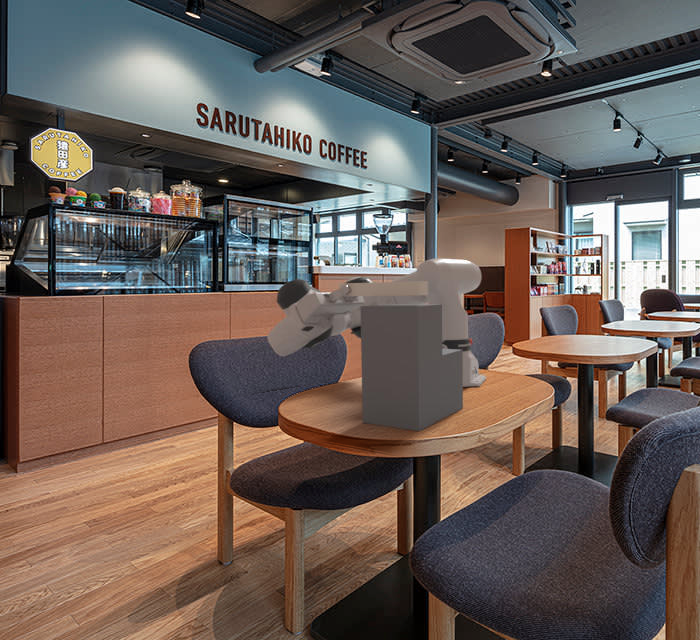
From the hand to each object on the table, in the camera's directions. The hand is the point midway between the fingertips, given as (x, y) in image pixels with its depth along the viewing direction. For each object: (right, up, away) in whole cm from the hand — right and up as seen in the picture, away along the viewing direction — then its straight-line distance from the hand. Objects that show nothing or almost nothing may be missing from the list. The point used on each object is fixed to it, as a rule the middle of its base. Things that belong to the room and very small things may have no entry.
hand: (355, 287), depth 119 cm
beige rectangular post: (+6, -2, -4) cm, 7 cm away
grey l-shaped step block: (+14, -30, 0) cm, 33 cm away
